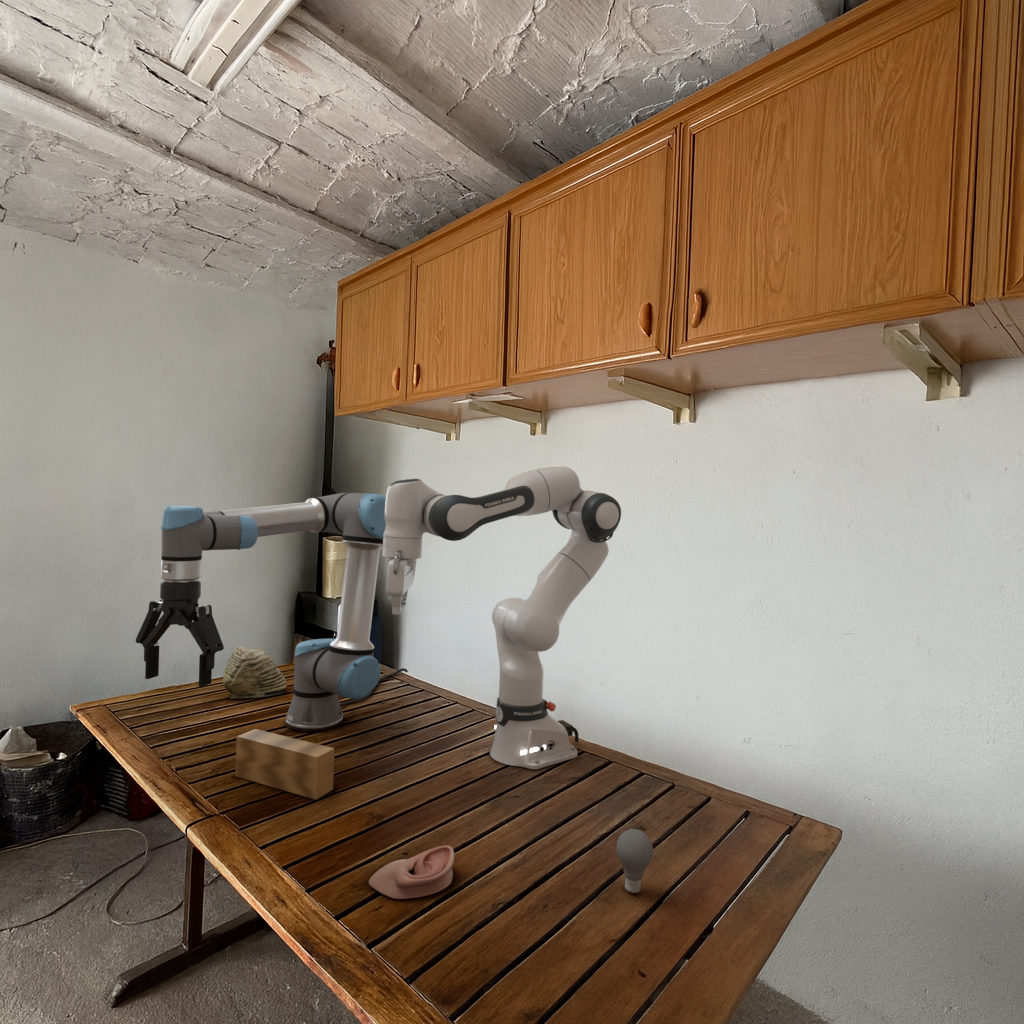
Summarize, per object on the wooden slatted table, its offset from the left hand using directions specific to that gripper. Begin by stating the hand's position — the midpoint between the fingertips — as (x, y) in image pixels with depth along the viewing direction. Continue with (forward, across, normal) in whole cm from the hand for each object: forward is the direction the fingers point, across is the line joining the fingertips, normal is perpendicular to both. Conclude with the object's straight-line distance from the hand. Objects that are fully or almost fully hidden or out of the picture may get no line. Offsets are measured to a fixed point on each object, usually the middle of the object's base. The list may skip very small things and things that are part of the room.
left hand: (178, 681), depth 132 cm
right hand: (-15, +39, +24) cm, 48 cm away
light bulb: (+24, +95, -1) cm, 98 cm away
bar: (+24, +18, +12) cm, 32 cm away
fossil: (+24, -27, +60) cm, 70 cm away
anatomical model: (+24, +59, -11) cm, 65 cm away
